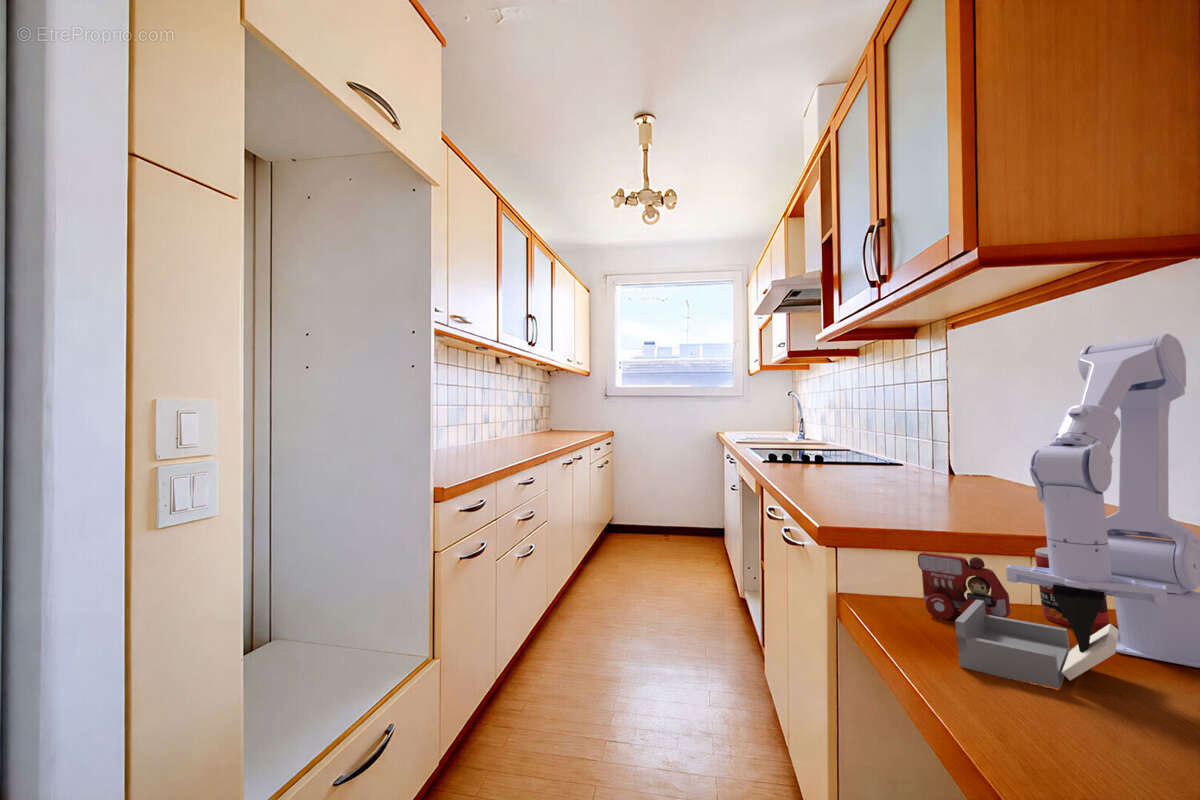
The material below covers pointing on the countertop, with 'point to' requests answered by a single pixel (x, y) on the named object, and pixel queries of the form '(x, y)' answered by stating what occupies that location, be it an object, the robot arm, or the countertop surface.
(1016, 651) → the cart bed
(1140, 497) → the robot arm
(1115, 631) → the panel
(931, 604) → the toy fire truck
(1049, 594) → the canned food
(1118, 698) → the countertop surface
